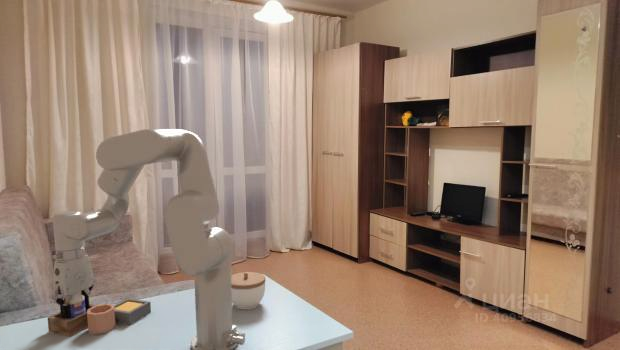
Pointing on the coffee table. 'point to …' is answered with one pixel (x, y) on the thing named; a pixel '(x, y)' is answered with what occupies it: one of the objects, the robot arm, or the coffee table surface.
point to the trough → (68, 324)
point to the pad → (128, 306)
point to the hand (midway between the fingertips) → (75, 312)
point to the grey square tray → (132, 312)
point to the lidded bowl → (247, 289)
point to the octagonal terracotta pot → (101, 318)
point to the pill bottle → (76, 305)
